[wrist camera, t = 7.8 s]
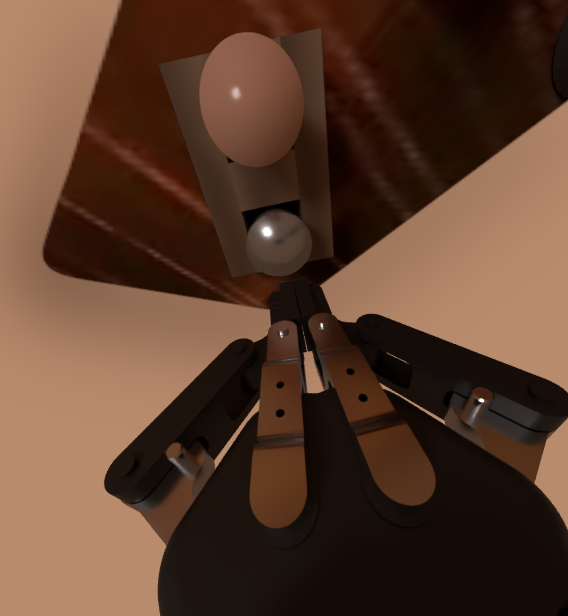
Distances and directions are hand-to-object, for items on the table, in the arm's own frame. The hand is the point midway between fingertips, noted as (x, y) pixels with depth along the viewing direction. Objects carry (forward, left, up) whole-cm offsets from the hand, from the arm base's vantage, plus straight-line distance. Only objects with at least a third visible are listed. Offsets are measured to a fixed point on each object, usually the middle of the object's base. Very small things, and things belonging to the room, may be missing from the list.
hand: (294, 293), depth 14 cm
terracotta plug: (0, -9, -12) cm, 15 cm away
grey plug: (0, 0, -14) cm, 14 cm away
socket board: (0, -5, -14) cm, 15 cm away
